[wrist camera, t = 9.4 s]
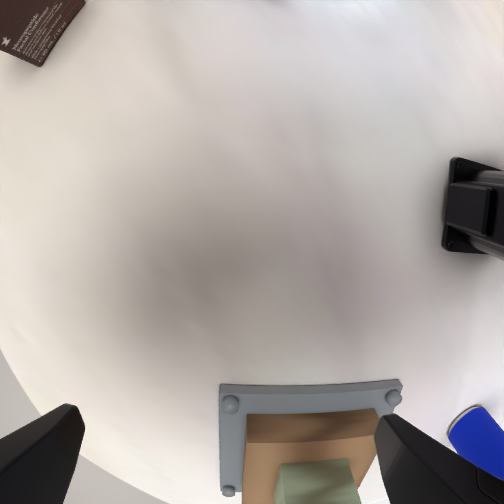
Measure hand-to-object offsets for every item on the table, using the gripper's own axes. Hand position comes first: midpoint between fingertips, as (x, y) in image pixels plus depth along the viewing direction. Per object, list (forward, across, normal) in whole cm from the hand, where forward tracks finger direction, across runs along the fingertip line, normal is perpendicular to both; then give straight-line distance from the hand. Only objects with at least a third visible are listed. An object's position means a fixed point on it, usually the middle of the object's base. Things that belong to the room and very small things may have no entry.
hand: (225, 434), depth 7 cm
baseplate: (+12, -6, +15) cm, 20 cm away
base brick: (+12, -6, +15) cm, 20 cm away
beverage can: (+12, -25, +16) cm, 32 cm away
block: (+8, -6, +15) cm, 18 cm away
